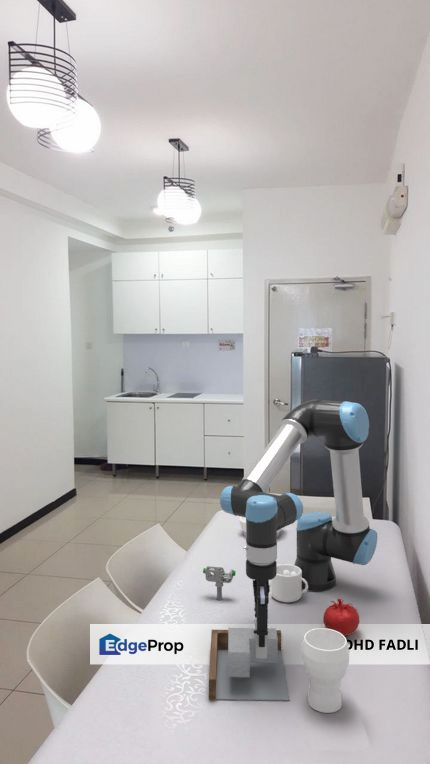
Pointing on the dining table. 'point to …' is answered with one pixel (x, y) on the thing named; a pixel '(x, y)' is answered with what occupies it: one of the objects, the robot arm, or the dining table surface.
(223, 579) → the mechanical component
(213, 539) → the dining table surface
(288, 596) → the mug
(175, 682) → the dining table surface
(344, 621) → the pomegranate
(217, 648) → the corner walls
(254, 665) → the slate mat
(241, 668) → the bracket
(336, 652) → the cup
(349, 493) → the robot arm
